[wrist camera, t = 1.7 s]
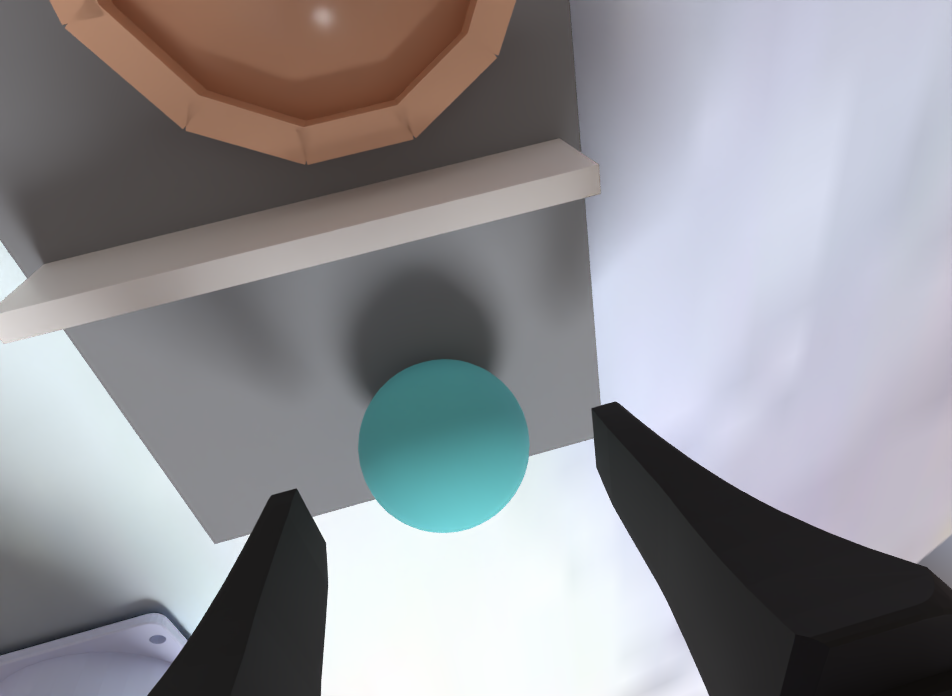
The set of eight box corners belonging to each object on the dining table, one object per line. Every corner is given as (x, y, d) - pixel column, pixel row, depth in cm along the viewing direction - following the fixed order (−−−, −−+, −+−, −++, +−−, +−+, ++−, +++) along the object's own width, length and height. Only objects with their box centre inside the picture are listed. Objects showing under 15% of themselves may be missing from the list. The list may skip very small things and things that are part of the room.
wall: (561, 163, 14) (600, 193, 11) (59, 288, 13) (4, 344, 11) (559, 138, 13) (599, 164, 11) (43, 264, 12) (-18, 317, 10)
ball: (516, 429, 18) (560, 541, 14) (381, 466, 17) (389, 591, 14) (493, 311, 15) (539, 409, 12) (336, 352, 15) (332, 466, 11)
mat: (598, 428, 19) (602, 435, 19) (217, 533, 18) (214, 543, 18) (522, -496, 8) (529, -515, 8) (-387, -339, 8) (-419, -354, 7)
